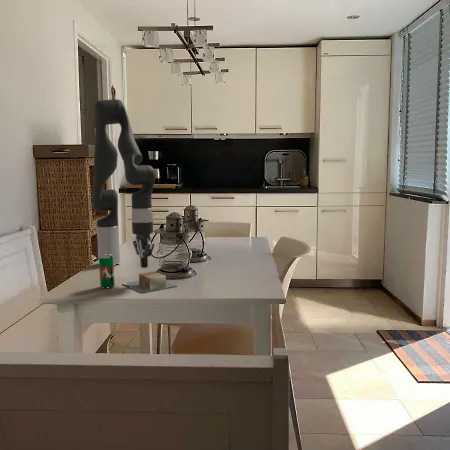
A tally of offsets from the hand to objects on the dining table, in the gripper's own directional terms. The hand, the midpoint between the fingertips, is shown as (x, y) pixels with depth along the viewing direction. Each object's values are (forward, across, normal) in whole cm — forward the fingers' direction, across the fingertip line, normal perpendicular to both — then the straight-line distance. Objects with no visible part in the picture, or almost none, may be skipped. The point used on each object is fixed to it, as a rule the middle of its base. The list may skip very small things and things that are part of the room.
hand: (144, 267), depth 176 cm
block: (+4, +1, 0) cm, 4 cm away
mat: (+6, +3, 0) cm, 7 cm away
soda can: (+6, -4, -13) cm, 15 cm away
